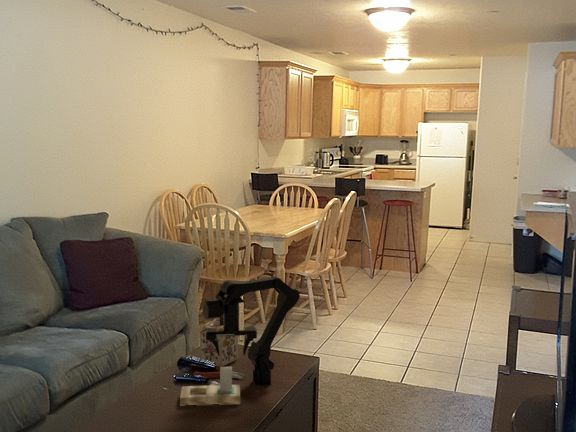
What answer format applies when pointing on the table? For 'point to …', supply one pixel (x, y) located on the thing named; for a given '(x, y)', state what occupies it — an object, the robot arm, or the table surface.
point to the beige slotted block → (208, 395)
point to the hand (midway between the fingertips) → (231, 355)
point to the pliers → (218, 374)
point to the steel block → (225, 379)
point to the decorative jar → (226, 346)
